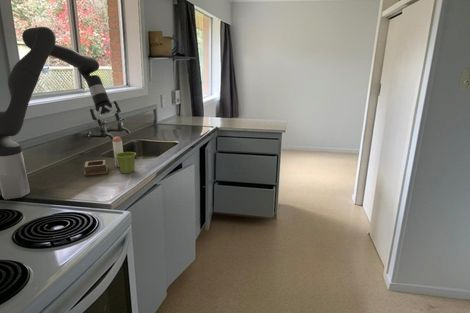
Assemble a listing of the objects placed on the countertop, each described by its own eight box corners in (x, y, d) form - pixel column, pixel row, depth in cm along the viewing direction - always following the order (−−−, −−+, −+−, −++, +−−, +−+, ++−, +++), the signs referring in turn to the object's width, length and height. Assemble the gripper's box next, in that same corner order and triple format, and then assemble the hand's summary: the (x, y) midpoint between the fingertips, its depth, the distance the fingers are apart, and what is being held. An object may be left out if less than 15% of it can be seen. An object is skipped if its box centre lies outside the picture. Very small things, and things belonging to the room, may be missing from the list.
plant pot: (116, 169, 156) (114, 152, 153) (136, 167, 160) (134, 150, 157) (117, 175, 148) (115, 158, 145) (138, 173, 151) (137, 155, 149)
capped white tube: (124, 166, 161) (121, 137, 157) (115, 167, 160) (112, 137, 155) (124, 163, 165) (121, 135, 161) (115, 164, 163) (112, 136, 159)
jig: (107, 173, 151) (106, 165, 150) (84, 175, 148) (83, 167, 147) (107, 166, 160) (106, 159, 159) (85, 169, 157) (84, 161, 156)
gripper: (83, 97, 161) (94, 127, 160) (111, 88, 163) (122, 117, 163) (87, 101, 168) (98, 129, 167) (114, 93, 171) (125, 120, 170)
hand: (110, 123), depth 165 cm, fingers open, 8 cm apart
